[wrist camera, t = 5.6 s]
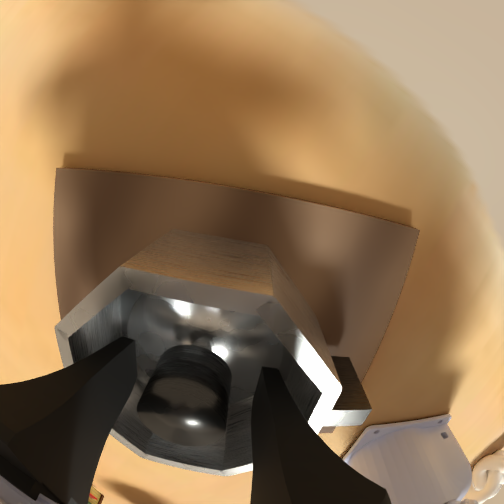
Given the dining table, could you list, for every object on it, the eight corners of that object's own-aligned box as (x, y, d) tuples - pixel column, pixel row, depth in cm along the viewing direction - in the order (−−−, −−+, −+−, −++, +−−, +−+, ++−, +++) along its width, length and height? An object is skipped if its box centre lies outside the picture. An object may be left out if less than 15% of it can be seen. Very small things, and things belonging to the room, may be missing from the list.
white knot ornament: (514, 436, 21) (531, 463, 13) (473, 475, 24) (486, 502, 16) (495, 442, 20) (515, 475, 12) (447, 485, 23) (461, 517, 15)
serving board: (411, 226, 12) (419, 230, 11) (330, 424, 16) (331, 432, 15) (65, 167, 11) (56, 168, 11) (80, 375, 15) (75, 381, 14)
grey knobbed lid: (299, 286, 11) (324, 359, 7) (264, 404, 13) (265, 479, 8) (132, 255, 11) (66, 304, 6) (135, 378, 13) (102, 442, 8)
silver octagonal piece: (372, 265, 12) (429, 316, 7) (312, 413, 14) (325, 479, 10) (116, 218, 11) (44, 247, 7) (121, 379, 14) (88, 437, 9)
